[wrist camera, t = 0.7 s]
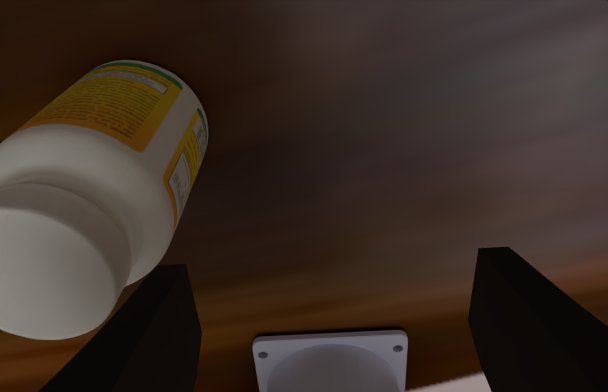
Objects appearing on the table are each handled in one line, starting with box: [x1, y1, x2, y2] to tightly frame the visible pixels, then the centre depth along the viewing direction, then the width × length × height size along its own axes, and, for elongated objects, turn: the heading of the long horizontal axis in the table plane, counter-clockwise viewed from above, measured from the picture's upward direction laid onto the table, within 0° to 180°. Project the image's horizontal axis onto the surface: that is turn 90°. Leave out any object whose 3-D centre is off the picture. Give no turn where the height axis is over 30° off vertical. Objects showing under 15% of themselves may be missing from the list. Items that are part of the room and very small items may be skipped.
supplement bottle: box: [0, 60, 208, 340], centre depth 16 cm, size 5×5×10 cm
